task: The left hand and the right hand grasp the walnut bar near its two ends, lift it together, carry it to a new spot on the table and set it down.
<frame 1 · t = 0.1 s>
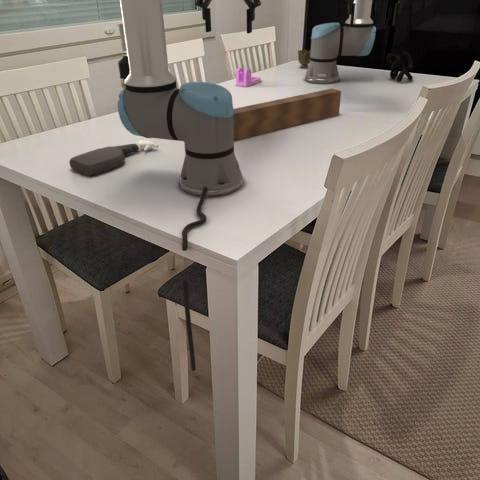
left hand: (228, 32, 139), 28 cm above the table, tool pointing down, fingers open, 13 cm apart
right hand: (372, 26, 146), 28 cm above the table, tool pointing down, fingers open, 13 cm apart
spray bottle: (117, 159, 125), on the table
bar: (278, 127, 147), on the table
bracket: (249, 83, 200), on the table
cup: (304, 67, 228), on the table
squiggle: (399, 80, 200), on the table
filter: (134, 117, 159), on the table
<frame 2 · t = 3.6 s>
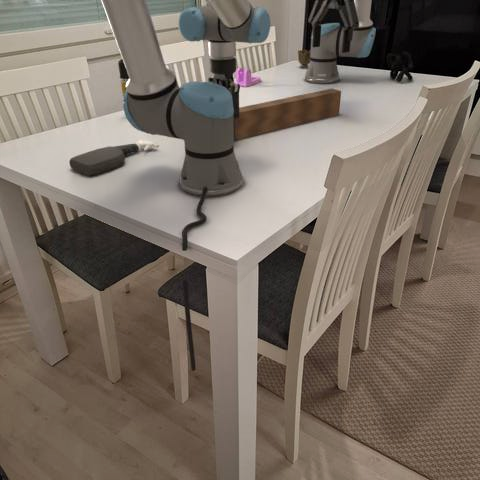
left hand: (225, 138, 137), 1 cm above the table, tool pointing down, fingers closed on bar, 5 cm apart
right hand: (330, 49, 145), 22 cm above the table, tool pointing down, fingers open, 13 cm apart
bar: (278, 127, 147), on the table, touching left hand
everything else where it was.
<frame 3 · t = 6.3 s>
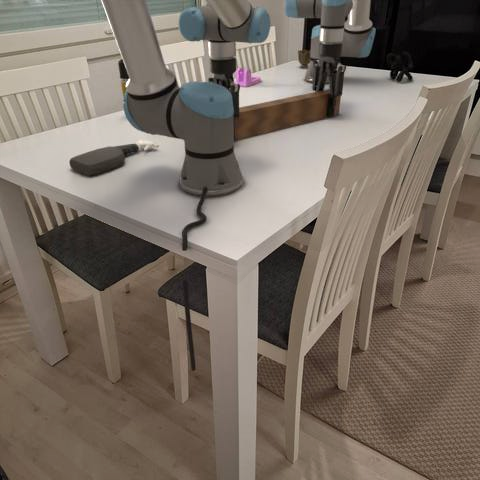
left hand: (225, 138, 137), 1 cm above the table, tool pointing down, fingers closed on bar, 5 cm apart
right hand: (324, 114, 157), 1 cm above the table, tool pointing down, fingers closed on bar, 5 cm apart
bar: (278, 127, 147), on the table, touching left hand, right hand
everything else where it was.
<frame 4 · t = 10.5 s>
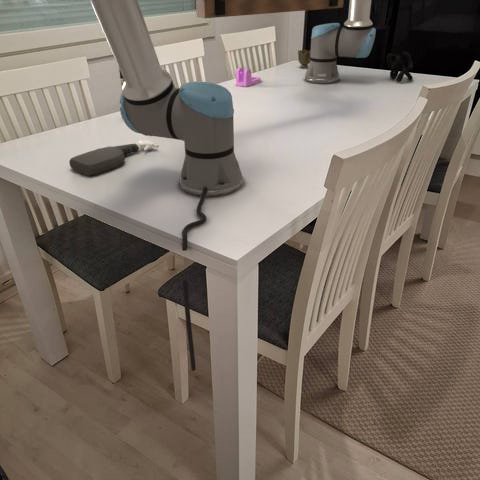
left hand: (215, 14, 121), 35 cm above the table, tool pointing down, fingers closed on bar, 5 cm apart
right hand: (327, 5, 141), 34 cm above the table, tool pointing down, fingers closed on bar, 5 cm apart
bar: (275, 11, 131), point 34 cm above the table, touching left hand, right hand
everything else where it was.
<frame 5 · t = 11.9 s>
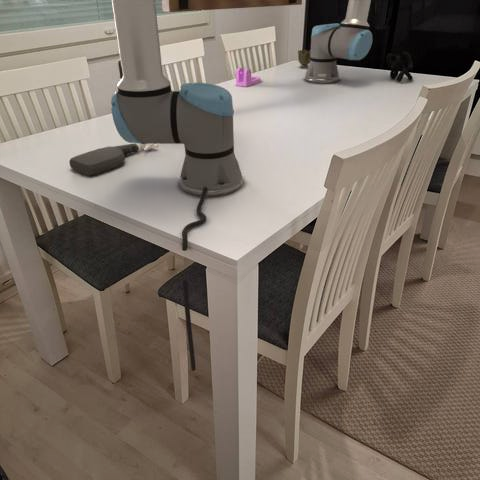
left hand: (179, 8, 134), 35 cm above the table, tool pointing down, fingers closed on bar, 5 cm apart
right hand: (287, 2, 154), 34 cm above the table, tool pointing down, fingers closed on bar, 5 cm apart
bar: (237, 7, 144), point 34 cm above the table, touching left hand, right hand
everything else where it was.
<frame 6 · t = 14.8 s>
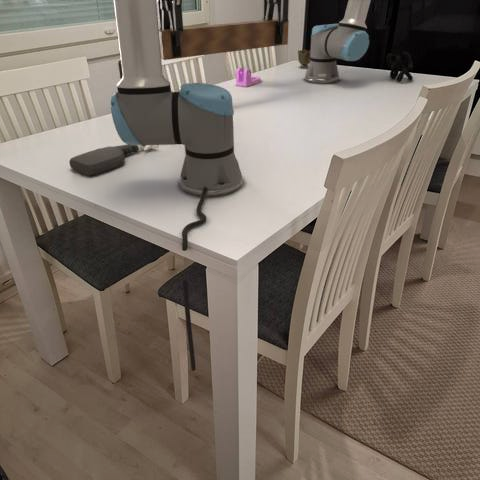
left hand: (173, 55, 145), 21 cm above the table, tool pointing down, fingers closed on bar, 5 cm apart
right hand: (274, 42, 165), 21 cm above the table, tool pointing down, fingers closed on bar, 5 cm apart
bar: (227, 50, 155), point 20 cm above the table, touching left hand, right hand
everything else where it was.
when the left hand's fingers open (2 cm above the table, at t = 17.5 s): bar drops 1 cm, on the table.
when the right hand's fingers open (2 cm above the table, at t = 17.5 s): bar drops 1 cm, on the table.
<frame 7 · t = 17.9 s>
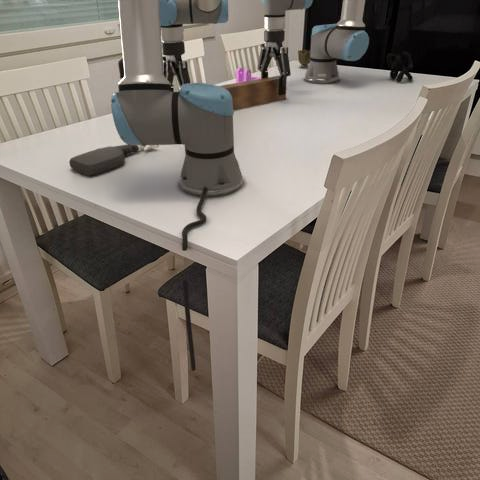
left hand: (178, 110, 155), 3 cm above the table, tool pointing down, fingers open, 10 cm apart
right hand: (273, 91, 174), 3 cm above the table, tool pointing down, fingers open, 10 cm apart
bar: (229, 108, 166), on the table
everything else where it was.
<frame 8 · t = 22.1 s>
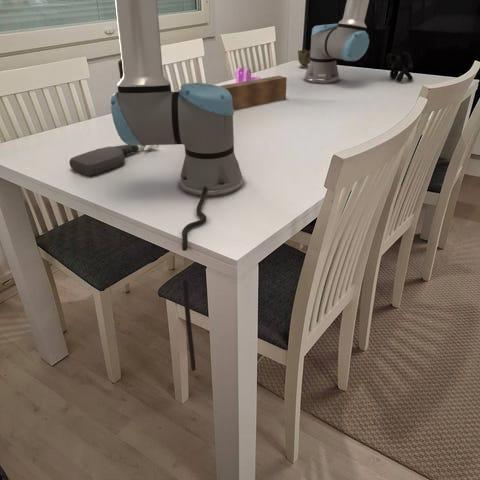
nothing on the table moved.
at the end: bar inside the target area (0.1 cm from its centre), on the table; bar tilted 0°; bar never tilted more than 1° during the clip; both hands held the bar at the same time; the left hand is holding nothing; the right hand is holding nothing; bar at rest at the end (0.0 cm/s) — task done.
